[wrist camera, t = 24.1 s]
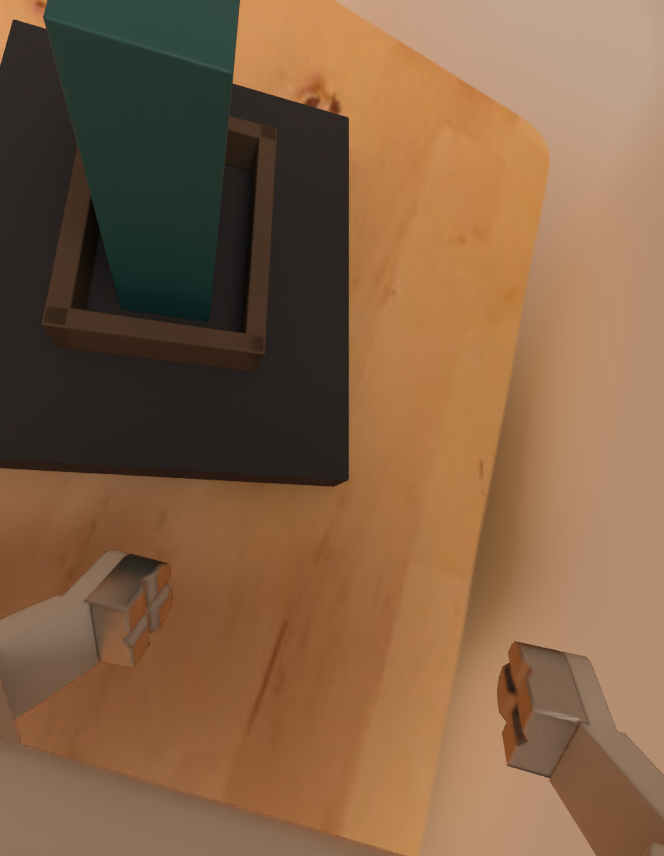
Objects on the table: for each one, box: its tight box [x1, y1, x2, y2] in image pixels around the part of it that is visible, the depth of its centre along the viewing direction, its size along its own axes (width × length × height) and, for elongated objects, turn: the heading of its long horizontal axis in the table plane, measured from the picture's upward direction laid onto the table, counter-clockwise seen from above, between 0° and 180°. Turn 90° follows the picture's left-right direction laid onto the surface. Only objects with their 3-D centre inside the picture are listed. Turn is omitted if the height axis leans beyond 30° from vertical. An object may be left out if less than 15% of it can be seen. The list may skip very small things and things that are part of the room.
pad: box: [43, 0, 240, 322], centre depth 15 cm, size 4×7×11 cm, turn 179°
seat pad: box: [0, 20, 349, 487], centre depth 20 cm, size 16×20×4 cm
